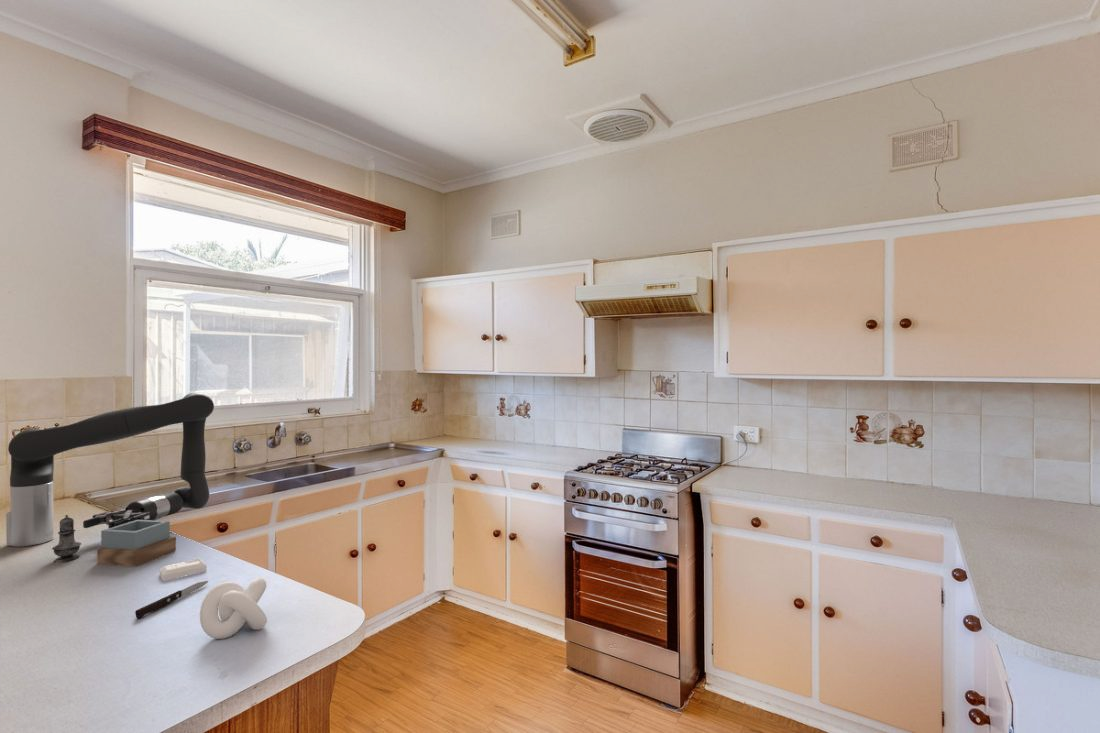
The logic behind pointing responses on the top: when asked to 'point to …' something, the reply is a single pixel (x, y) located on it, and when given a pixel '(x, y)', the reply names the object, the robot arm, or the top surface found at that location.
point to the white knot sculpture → (232, 608)
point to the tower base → (136, 553)
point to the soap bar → (182, 569)
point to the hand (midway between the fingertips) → (96, 525)
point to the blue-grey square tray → (135, 534)
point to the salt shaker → (66, 542)
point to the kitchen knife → (167, 600)
